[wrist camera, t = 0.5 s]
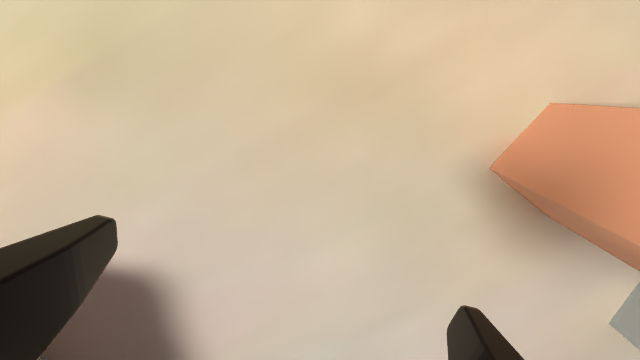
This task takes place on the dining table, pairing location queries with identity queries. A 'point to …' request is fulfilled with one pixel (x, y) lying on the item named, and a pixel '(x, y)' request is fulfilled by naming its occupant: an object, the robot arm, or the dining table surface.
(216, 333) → the dining table surface
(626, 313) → the slate grey block
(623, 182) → the terracotta block
